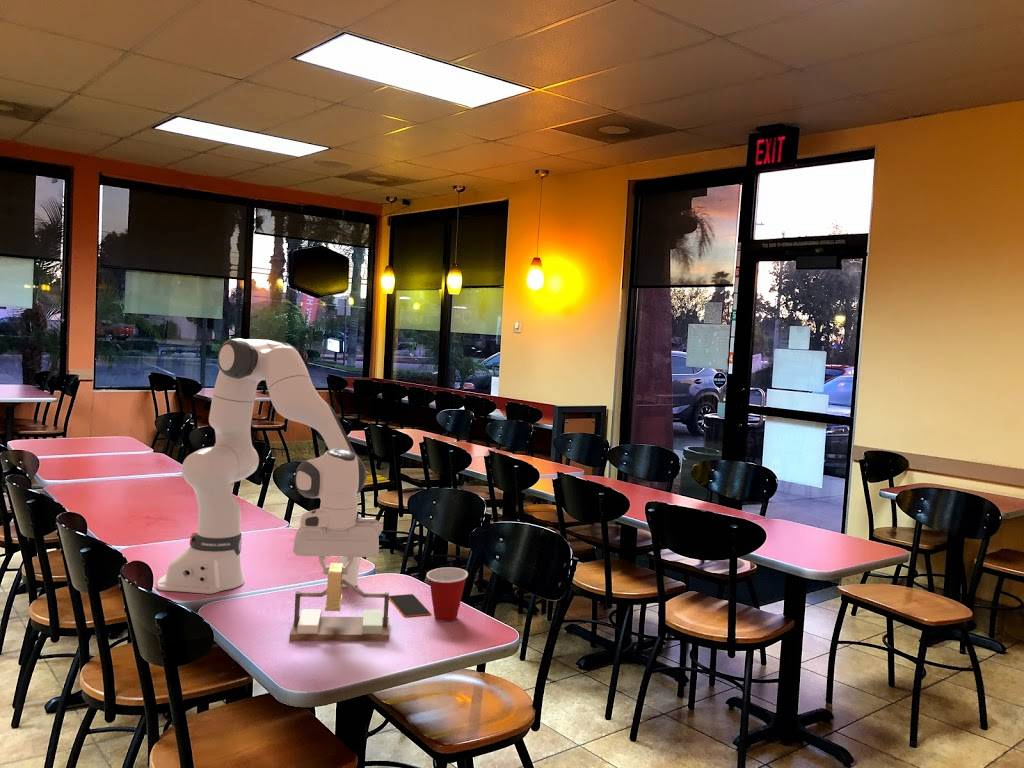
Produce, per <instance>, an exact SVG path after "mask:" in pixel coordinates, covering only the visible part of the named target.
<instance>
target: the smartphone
mask: <svg viewBox="0 0 1024 768" xmlns="http://www.w3.org/2000/svg"><path fill="white" fill-rule="evenodd" d="M389 602H391V604H392V605H393V604H394V605H393V606H394V607H395V609H397V611H398V610H399V611H398V612H399V613H400V614H401V615H402V617H403V618H414V617H415V618H416V617H426V616H427V617H428V616H429V617H430V616H431V615H432V613H431V612H430V611H429V609H428V608H427V607H426V606H425V605H424V604H423V603H422V602H421V601H420V599H418V598H417V596H416V595H414V594H413V593H409V594H397V595H389Z"/></svg>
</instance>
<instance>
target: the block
mask: <svg viewBox="0 0 1024 768" xmlns="http://www.w3.org/2000/svg"><path fill="white" fill-rule="evenodd" d="M299 616H300V619H299V623H298V630H297V634H317V633H318V629H319V624H320V620H321V617H322V609H309V608H308V609H307V608H306V609H305V608H303V609H302V610H301V612H300V615H299Z"/></svg>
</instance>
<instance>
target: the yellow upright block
mask: <svg viewBox="0 0 1024 768" xmlns="http://www.w3.org/2000/svg"><path fill="white" fill-rule="evenodd" d="M329 565H330V568H329V572H328V574H327V586H326V587H327V588H326V589H327V594H326V600H325V601H326V602H325V605H324V607H325V608H324V611H325V612H341V607H342V601H343V594H342V591H343V590H342V589H343V587H342V585H341V580H342V566H343V563H338V562H330V564H329Z"/></svg>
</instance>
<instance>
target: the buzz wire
mask: <svg viewBox="0 0 1024 768" xmlns="http://www.w3.org/2000/svg"><path fill="white" fill-rule="evenodd" d="M342 584H345V585H346V586H347V587H349V589H350V590H352V591H353V592H355V593H356V594H357V595H359V596H360V597H362V598H371V599H372V598H373V599H376V598H379V599H381V598H382V599H383V598H384V603H383V616H382V634H362V628H363V616H321V620H320V624H319V629H318V633H317V634H297V630H298V623H299V619H300V616H301V615H300V609H301V608H300V607H301V598H323V597H325V596H327V588H326V589H325V590H323V591H322V592H301V591H295V594H294V595H295V597H294V601H295V602H294V615H293V617H294V618H293V622H292V626H291V629H290V631H289V638H288V639H289V641H291V642H292V641H298V642H300V641H303V642H304V641H305V642H307V641H309V642H310V641H315V642H316V641H319V642H320V641H322V642H323V641H326V642H329V641H330V642H331V641H332V642H333V641H335V642H337V641H338V642H342V641H343V642H351V641H352V642H353V641H354V642H358V641H359V642H367V641H368V642H374V641H375V642H389V640H390V617H389V606H390V605H389V602H390V600H389V596H390V592H384V593H383V592H382V593H372V592H370V593H368V592H367V593H366V592H363V591H362V590H361V589H359V588H357V587H356V586H354V585H352V584H351V583H349V582H348V581H347V580H345V579H342V580H341V585H342Z"/></svg>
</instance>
